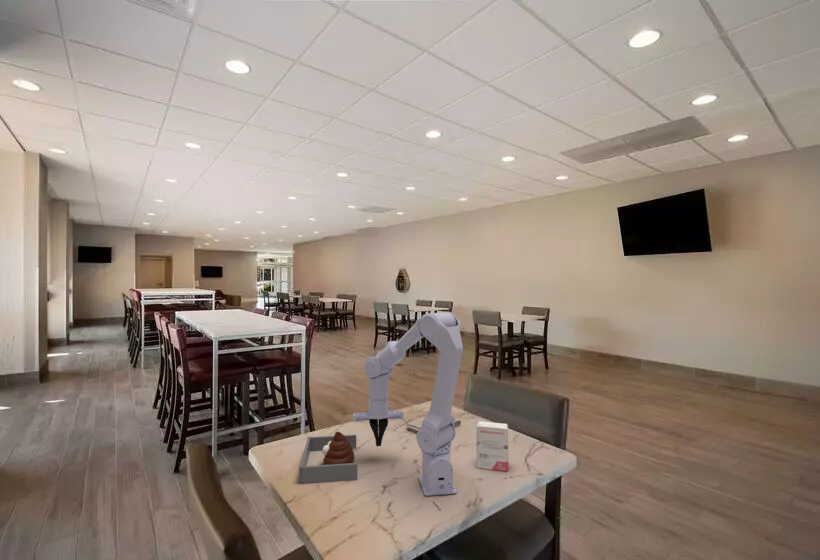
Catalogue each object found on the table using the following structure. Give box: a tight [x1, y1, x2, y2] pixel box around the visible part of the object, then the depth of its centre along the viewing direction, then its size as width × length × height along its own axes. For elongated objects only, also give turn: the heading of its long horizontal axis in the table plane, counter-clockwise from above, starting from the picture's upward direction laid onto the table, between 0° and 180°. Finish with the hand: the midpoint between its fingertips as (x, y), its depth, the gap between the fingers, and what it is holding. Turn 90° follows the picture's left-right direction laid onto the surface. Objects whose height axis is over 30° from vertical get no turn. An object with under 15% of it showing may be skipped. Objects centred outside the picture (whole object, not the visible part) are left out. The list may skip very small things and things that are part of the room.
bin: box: [298, 434, 359, 485], centre depth 108 cm, size 20×15×4 cm
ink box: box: [476, 420, 509, 472], centre depth 107 cm, size 9×5×12 cm, turn 74°
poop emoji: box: [321, 431, 355, 465], centre depth 108 cm, size 10×8×9 cm
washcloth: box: [405, 417, 462, 435], centre depth 136 cm, size 12×18×3 cm, turn 137°
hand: (378, 444), depth 110 cm, fingers closed
